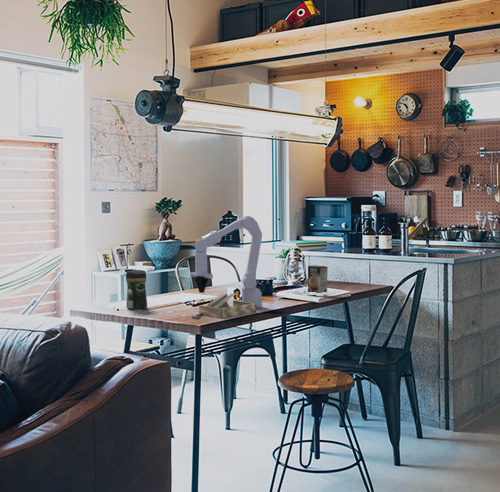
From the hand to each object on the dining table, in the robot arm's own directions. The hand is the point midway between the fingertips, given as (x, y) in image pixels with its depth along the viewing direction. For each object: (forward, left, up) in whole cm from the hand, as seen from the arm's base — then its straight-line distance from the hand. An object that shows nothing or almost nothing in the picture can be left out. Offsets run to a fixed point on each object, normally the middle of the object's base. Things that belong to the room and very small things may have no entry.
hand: (201, 292), depth 331 cm
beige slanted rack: (+2, +14, -8) cm, 16 cm away
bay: (0, +19, -8) cm, 20 cm away
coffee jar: (+22, -23, -8) cm, 33 cm away
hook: (+16, +18, -8) cm, 25 cm away
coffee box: (-72, +11, -8) cm, 73 cm away
